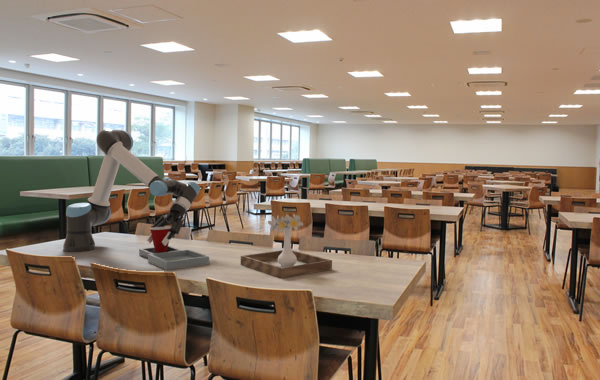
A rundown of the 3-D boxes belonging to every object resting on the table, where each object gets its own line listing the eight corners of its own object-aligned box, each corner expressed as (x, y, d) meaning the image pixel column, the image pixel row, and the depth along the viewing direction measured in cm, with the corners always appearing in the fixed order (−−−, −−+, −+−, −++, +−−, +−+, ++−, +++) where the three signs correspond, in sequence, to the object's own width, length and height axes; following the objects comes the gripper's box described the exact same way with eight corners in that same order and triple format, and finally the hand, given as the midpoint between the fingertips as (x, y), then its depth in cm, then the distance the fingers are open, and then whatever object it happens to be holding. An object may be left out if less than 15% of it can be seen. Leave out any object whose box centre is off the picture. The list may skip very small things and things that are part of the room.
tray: (148, 261, 227) (148, 254, 227) (188, 256, 240) (188, 249, 239) (166, 270, 211) (166, 262, 211) (209, 264, 224) (209, 256, 223)
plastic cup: (165, 248, 248) (165, 224, 247) (176, 251, 241) (176, 227, 240) (145, 250, 241) (145, 226, 240) (156, 254, 233) (156, 229, 232)
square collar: (139, 254, 242) (139, 248, 242) (168, 251, 252) (168, 245, 251) (151, 260, 230) (151, 254, 230) (182, 256, 240) (182, 250, 239)
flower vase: (276, 262, 230) (276, 211, 228) (309, 266, 221) (310, 214, 219) (261, 267, 219) (261, 214, 217) (295, 272, 210) (296, 216, 209)
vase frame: (240, 264, 224) (240, 255, 223) (288, 257, 241) (288, 249, 240) (281, 278, 199) (282, 268, 199) (331, 269, 216) (332, 260, 216)
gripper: (199, 214, 247) (176, 250, 234) (168, 210, 258) (144, 244, 246) (192, 204, 242) (168, 240, 230) (160, 201, 253) (135, 235, 241)
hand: (155, 242), depth 238 cm, fingers closed on plastic cup, 10 cm apart
